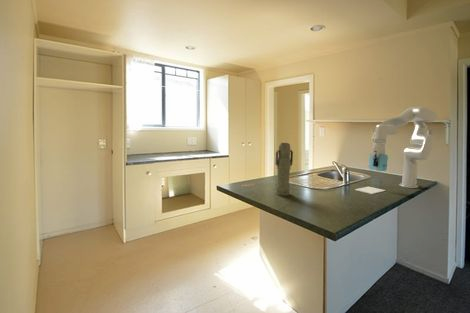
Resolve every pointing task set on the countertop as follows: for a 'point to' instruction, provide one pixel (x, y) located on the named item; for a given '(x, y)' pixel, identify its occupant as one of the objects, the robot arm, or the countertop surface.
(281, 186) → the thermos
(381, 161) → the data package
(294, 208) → the countertop surface
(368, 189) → the mat
